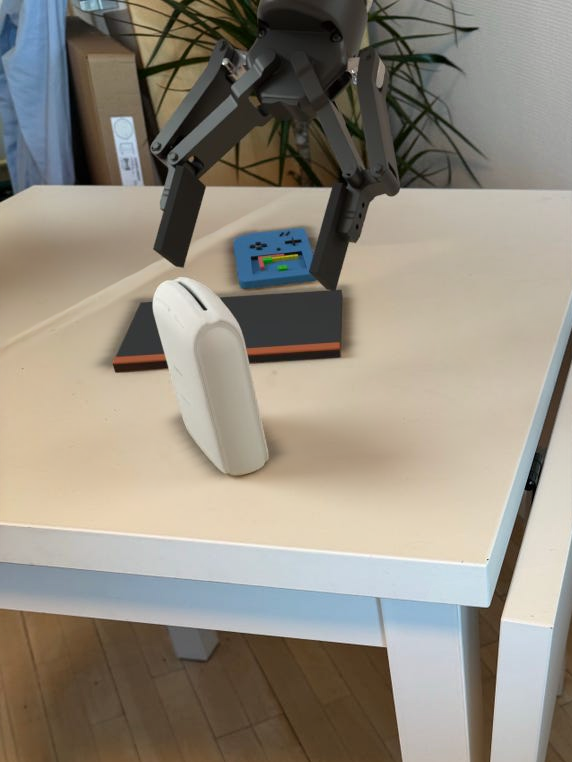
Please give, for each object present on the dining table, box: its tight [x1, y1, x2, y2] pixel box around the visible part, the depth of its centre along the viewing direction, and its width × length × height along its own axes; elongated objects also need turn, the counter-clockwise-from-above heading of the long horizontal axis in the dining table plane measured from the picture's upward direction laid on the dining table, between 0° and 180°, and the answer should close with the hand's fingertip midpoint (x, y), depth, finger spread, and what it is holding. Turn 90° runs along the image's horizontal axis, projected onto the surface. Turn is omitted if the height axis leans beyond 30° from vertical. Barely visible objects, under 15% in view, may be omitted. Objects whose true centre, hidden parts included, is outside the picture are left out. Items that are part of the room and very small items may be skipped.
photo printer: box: [152, 276, 270, 476], centre depth 66 cm, size 10×4×12 cm, turn 32°
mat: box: [112, 289, 344, 373], centre depth 86 cm, size 20×14×1 cm
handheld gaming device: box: [233, 227, 317, 290], centre depth 99 cm, size 8×1×15 cm
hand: (242, 270), depth 66 cm, fingers open, 13 cm apart
